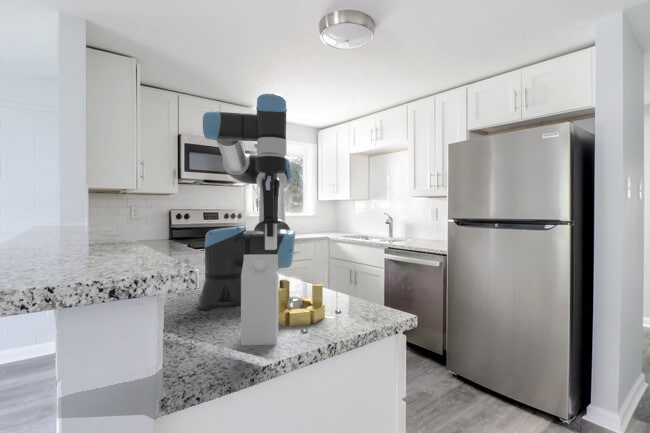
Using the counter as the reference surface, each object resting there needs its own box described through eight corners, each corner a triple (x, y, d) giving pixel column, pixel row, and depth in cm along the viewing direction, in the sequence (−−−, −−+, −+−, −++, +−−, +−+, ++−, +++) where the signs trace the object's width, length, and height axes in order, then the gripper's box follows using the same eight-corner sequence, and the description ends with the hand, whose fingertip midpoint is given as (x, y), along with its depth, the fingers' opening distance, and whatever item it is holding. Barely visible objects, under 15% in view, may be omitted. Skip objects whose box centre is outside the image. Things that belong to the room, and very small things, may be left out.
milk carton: (245, 338, 76) (246, 252, 76) (278, 337, 76) (278, 252, 76) (240, 351, 69) (241, 257, 68) (276, 350, 69) (276, 256, 69)
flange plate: (237, 325, 84) (237, 302, 84) (284, 305, 102) (284, 287, 102) (306, 340, 75) (306, 315, 75) (345, 316, 92) (345, 295, 92)
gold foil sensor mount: (252, 319, 85) (252, 287, 85) (286, 304, 98) (287, 277, 98) (303, 329, 78) (303, 294, 78) (333, 312, 91) (333, 282, 91)
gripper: (261, 161, 95) (260, 246, 95) (251, 152, 80) (250, 252, 80) (288, 161, 95) (288, 246, 95) (283, 152, 80) (282, 252, 81)
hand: (271, 248), depth 88 cm, fingers closed
